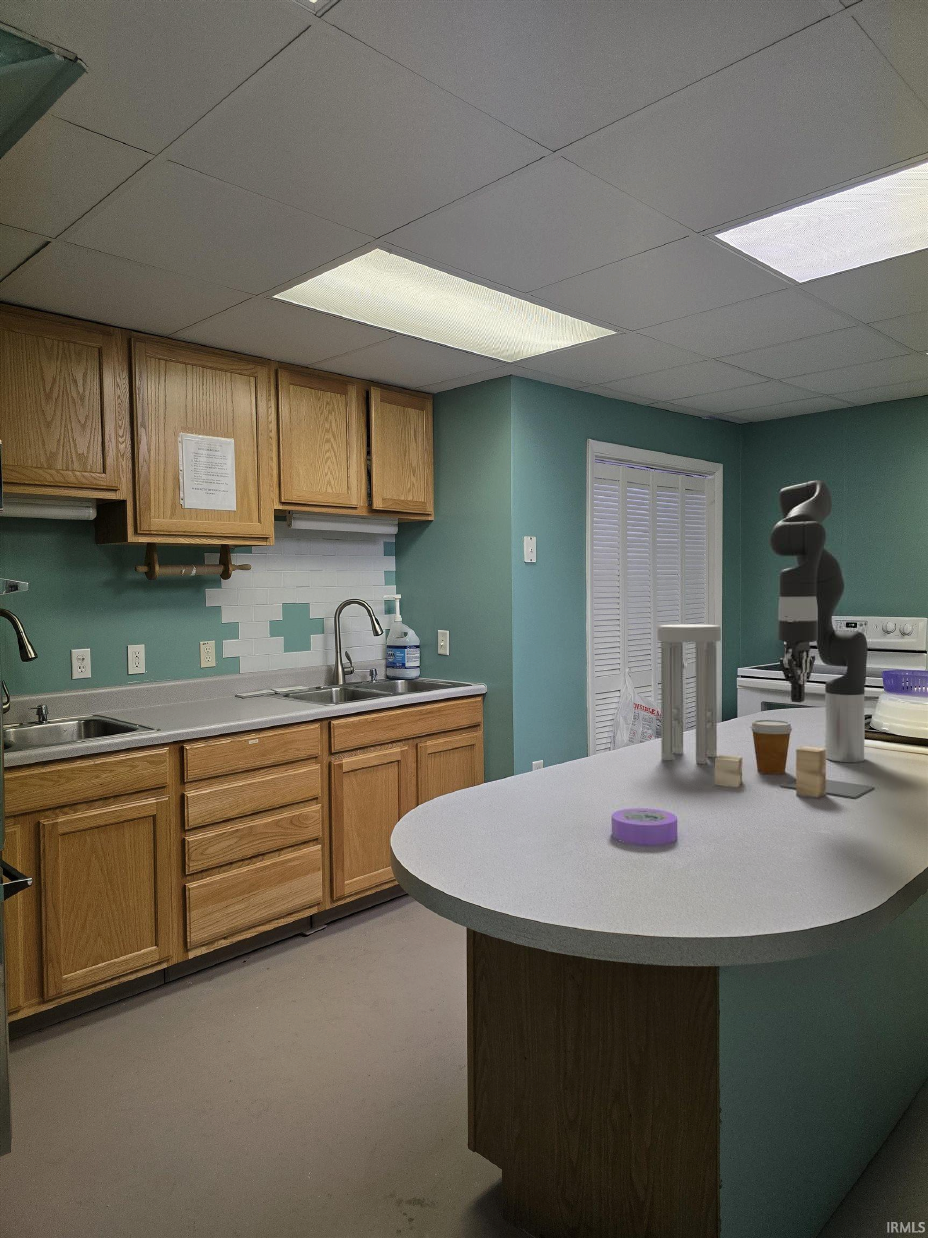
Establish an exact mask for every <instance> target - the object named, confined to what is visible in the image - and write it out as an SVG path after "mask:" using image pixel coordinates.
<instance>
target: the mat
mask: <svg viewBox="0 0 928 1238" xmlns="http://www.w3.org/2000/svg"><path fill="white" fill-rule="evenodd" d="M779 787H780V788H786V789H793V790H796V778H793V779H791V780H789V781H787V782H786V781H785V782H784V783H781V784H780V785H779ZM874 789H875V786H873V785H866V784H859V783H854V782H853V783H852V782H847V781H846V782H845V781H839V780H831V779H826V795H829V796H830V795H831V796H836V797H841V798H849V799H854V800H856V799H857V798H859V797H861V796H864V795H865V794H866V793H868V792H871V791H872V790H874Z"/></svg>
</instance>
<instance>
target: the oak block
mask: <svg viewBox="0 0 928 1238" xmlns="http://www.w3.org/2000/svg"><path fill="white" fill-rule="evenodd" d="M795 750H796V751H795V756H796V757H795V758H796V759H795V766H796V767H795V773H796V774H795V777H796V789H795V791H796V792H795V795H796V796H797V797H801V798H802V797H803V798H809V799H815V800H819V799H821V798H823V797H825V796H826V795H827V794H826V780H827V778H826V774H827V772H826V771H827V770H826V767H827V766H826V765H827V760H826V749H825V748H823V747H813V746H805V745H804V746H802V747H799V748H797V749H795Z"/></svg>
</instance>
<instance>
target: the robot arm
mask: <svg viewBox="0 0 928 1238" xmlns="http://www.w3.org/2000/svg"><path fill="white" fill-rule="evenodd" d="M779 491H780V492H779V493H778V503H779V507H780V511H781V514H782V517H783V519H781V520H779V521H778V522H777V523H776V524H775V525H774V526H773V528H772V530H771V534H770V537H769V544H770V548H771V550H772V551H773V553H774V554H776V555H778V556H780V557H796V561H797V566H792V567H788V568H785V569H782V570H781V571H780V574H779V602H778V625H777V626H778V628H777V630H778V634H777V635H778V636H777V637H778V641H780V642H784V643H785V649H784V658H780V659H779V665H780V667H781V670H782V674H783V676H784V679H785V681H786V682H788V683H789V684H790V700H791V702H792V703H803V702H805V700H806V699H805V693H806V691H805V689H806V688H805V685H806V684H807V681H809V680H811V679H810V678H811V675H812V672H813V669H814V665H815V661H816V655H814V654H812V651H811V646H810V643H814V642H815V643H816V647H817V648H816V649H817V651H818V655H819V658H820V660H821V662H822V663H823V664H824V665H827V666H831V667H844V668H846V672H845V674H843V675H842V676H840V677H838V678H833V679H829V680H828V681H826V682H825V685H824V686H825V687H824V691H825V693H824V694H825V695H824V697H825V699H824V700H825V701H824V703H825V705H824V706H825V707H824V708H825V711H824V712H825V714H824V715H825V716H824V717H825V718H824V721H825V722H824V728H825V729H824V731H825V732H824V733H825V734H824V737H825V741H824V743H825V745H824V746H825V747H824V749H826V759H827V760H830V761H833V762H840V763H842V762H843V763H861V762H864V761H865V710H866V709H865V691H866V690H865V688H866V680H867V662H868V641H867V637H866V635H865V634H864V633H863V632H861V631H858V630H836V629H834V627H833V626H834V625H833V621H832V620H833V615H834V612H835V609H836V608H837V606H838V605H839V602H840V600H841V598H842V596H843V595H844V590H845V582H844V578H843V573H842V570H841V566H840V563H839V561H838V560H837V558H836V557H835V556H834V554H832V553H831V552H829V551H828V550H827V549H826V548H825V544H826V541H827V532H826V529H825V527H824V525H823V524H822V523H823V521H824V520H825V519H827V517H829V516H830V514H831V511H832V504H833V503H832V498H831V496H832V495H831V493H830V492H831V491H830V489H829V487H828V486H827V484H826V482H824V481H822V480H811V481H807V482H803V483H799V484H795V485H794V484H793V485H791V486H786V487H783V488H781V490H779Z"/></svg>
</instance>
